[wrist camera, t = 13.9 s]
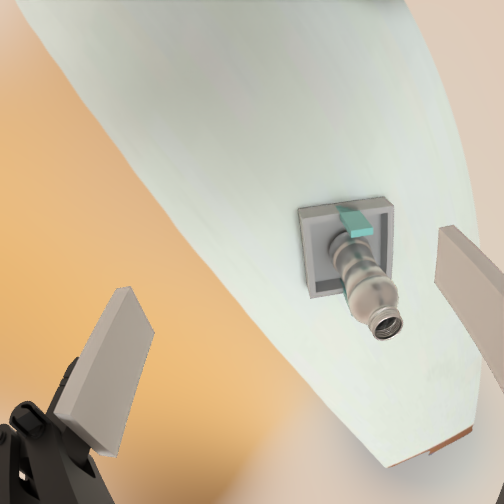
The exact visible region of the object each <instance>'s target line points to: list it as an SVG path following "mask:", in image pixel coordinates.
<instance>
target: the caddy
mask: <svg viewBox="0 0 504 504" xmlns="http://www.w3.org/2000/svg"><path fill="white" fill-rule="evenodd" d="M298 211H299V219H300V227H301V235H302V244H303V253H304V262H305V271H306V280H307V287H308V291H309V295H310V299H311V298H317V297H323V296H329V295H335V294H341V293H343V294H344V296H345V299H346V301H347V304H348V299H347V292H346V289H345V285H344V282H343V280H342V278H341V276H340V275H339V273H338V272H337V271H336V270H335V268H334V267H333V266H332V264H331V262H330V256H329V249H330V245H331V243H332V242H333V240H334V239H335V238H336V237H337V236H338V235H340V234H342V233H344V232H348V233H349V235H350V237H351V238H354V237H361V236H364V237H365V238H366V239H367V240H368V242H369V244H370V247H371V251H372V254H373V256H374V259H375V261H376V263H377V264H378V265H379V267H380V268H381V269H382V271H383V272H384V273H385V274H386V275H387V276H388V277H389V278H390V279H391V278H392V261H393V237H394V205H393V204H392V203H390V202H389V201H388V200H387V199H386V198H385V197H379V198H371V199H363V200H356V201H349V202H341V203H334V204H327V205H320V206H313V207H307V208H300V209H298ZM348 307H349V305H348ZM351 315H352V314H351Z"/></svg>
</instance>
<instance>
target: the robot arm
mask: <svg viewBox="0 0 504 504" xmlns="http://www.w3.org/2000/svg"><path fill="white" fill-rule="evenodd" d="M434 283H435V284H436V285H437V287H438V288H439V290H440V291H441V292H442V294H443V295H444V297H445V298H446V300H447V301H448V302H449V304H450V305H451V307H452V308H453V310H454V311H455V313H456V314H457V316H458V317H459V319H460V320H461V322H462V323H463V325H464V327H465V328H466V330H467V331H468V333H469V334H470V336H471V338H472V339H473V341H474V342H475V344H476V346H477V347H478V349H479V351H480V352H481V354H482V356H483V357H484V359H485V361H486V362H487V364H488V366H489V368H490V369H491V371H492V373H493V374H494V377H495V378H496V380H497V382H498V384H499V386H500V388H501V389H502V391H503V393H504V274H503V273H502V272H501V271H500V270H499V268H498V267H497V266H496V265H495V264H494V263H493V262H492V261H491V260H490V259H489V258H488V257H487V256H486V255H485V254H484V253H483V252H482V251H481V250H480V249H479V248H478V247H477V246H476V245H475V244H474V243H473V242H471V241H470V240H469V239H468V238H467V237H466V236H465V235H464V234H463V233H462V232H461V231H460V230H459V229H457V228H456V227H455V226H454V225H451V226H446V227H441V228H439V236H438V250H437V261H436V271H435V280H434ZM154 334H155V332H154V330H153V329H152V327H151V325H150V323H149V321H148V319H147V318H146V315H145V313H144V312H143V310H142V308H141V306H140V304H139V302H138V300H137V298H136V296H135V294H134V292H133V290H132V288H131V286H129V287H123V288H117V289H116V290H115V292H114V294H113V295H112V297H111V299H110V301H109V303H108V304H107V306H106V308H105V310H104V311H103V313H102V315H101V317H100V319H99V321H98V322H97V324H96V326H95V328H94V330H93V332H92V334H91V335H90V338H89V339H88V341H87V343H86V345H85V347H84V349H83V351H82V353H81V355H80V357H76V358H75V359H74V361H73V362H72V363H71V364H70V365H69V366H68V368H67V370H66V372H65V374H64V376H63V377H64V379H62V380H61V382H60V387H58V389H57V391H56V393H55V395H54V397H53V400H52V401H51V404H50V406H49V408H48V410H47V412H46V414H44V413H43V412H42V411H41V410H40V409H39V408H38V407H37V406H36V405H35V404H34V403H33V402H31V401H25V402H22V403H20V404H19V405H18V406H17V407H15V409H14V410H13V412H12V413H11V416H10V421H9V423H10V425H11V426H12V427H13V428H15V429H16V430H17V431H16V432H15V431H14V430H13V429H12V428H11V427H10V426H9V425H7V424H1V425H0V504H115V503H114V501H113V499H112V497H111V495H110V493H109V492H108V490H107V487H106V485H105V483H104V481H103V479H102V477H101V475H100V473H99V471H98V469H97V466H96V464H95V462H94V460H93V458H92V457H91V455H89V451H90V448H92V449H93V450H94V451H95V452H97V453H98V454H99V455H103V456H110V457H117V454H118V451H119V447H120V443H121V440H122V436H123V433H124V429H125V426H126V422H127V418H128V415H129V412H130V408H131V405H132V402H133V399H134V395H135V392H136V389H137V385H138V382H139V379H140V376H141V373H142V370H143V367H144V364H145V361H146V358H147V355H148V352H149V349H150V346H151V342H152V340H153V337H154ZM19 471H21V472H22V473H23V474H25V480H23V479H21V478H20V477H19ZM496 504H504V484H503V486H502V489H501V492H500V495H499V497H498V500H497V502H496Z"/></svg>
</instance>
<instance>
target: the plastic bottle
mask: <svg viewBox="0 0 504 504" xmlns="http://www.w3.org/2000/svg"><path fill="white" fill-rule="evenodd" d="M329 256H330V262H331V264H332V266H333V267H334V268H335V270H336V271H337V272H338V273H339V275H340V276H341V278H342V280H343V282H344V285H345V289H346V292H347V299H348V305H349V309H350V312H351V314H352V316H353V317H354V318H355V319H356V320H357V321H359V322H360V323H363V324H366V325H368V327H369V329H370V331H372V334H373V336H374V337H375V338H376V339H377V340H381V341H384V340H389V339H391V338H393V337H395V336H396V335H397V334H398V333H399V332H400V331H401V329H402V327H403V320H402V318H401V316H400V313H399V311H398V309H397V305H398V300H399V296H398V289H397V287H396V285H395V284H394V283H393V281H392V280H391V279H390V278H389V277H388V276H387V275H386V274H385V273H384V272H383V271H382V269H381V268H380V267H379V265H378V264H377V263H376V261H375V259H374V256H373V254H372V251H371V247H370V244H369V242H368V240H367V239H366V238H365V237H364V236H361V237H354V238H351V237H350V235H349V233H348V232H344V233H342V234H340V235H338V236H337V237H336V238H335V239H334V240H333V242H332V243H331V245H330V249H329Z"/></svg>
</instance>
